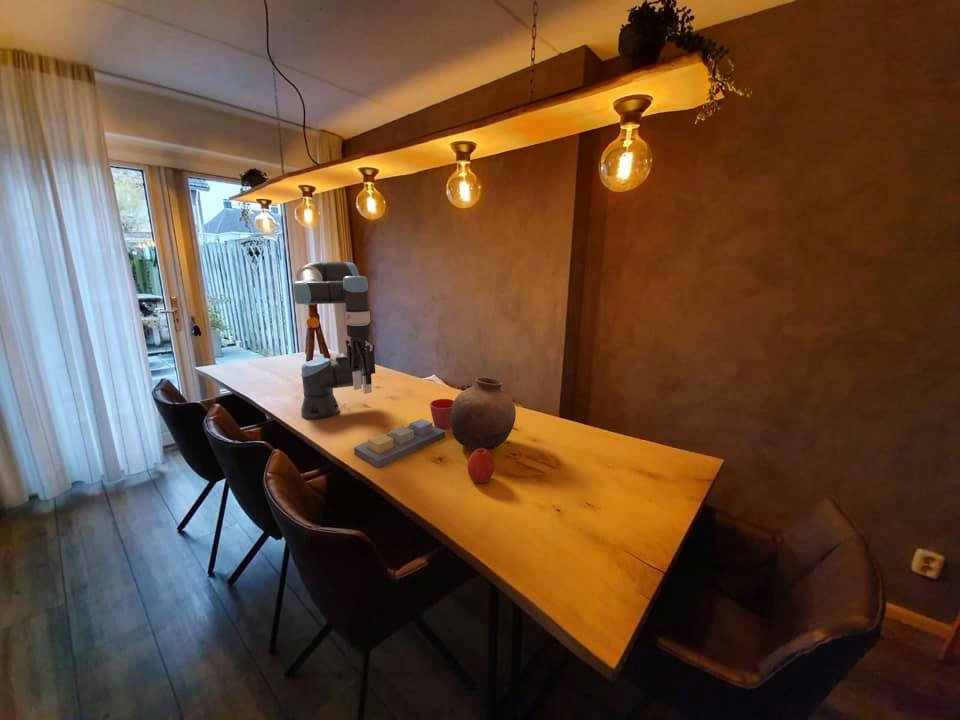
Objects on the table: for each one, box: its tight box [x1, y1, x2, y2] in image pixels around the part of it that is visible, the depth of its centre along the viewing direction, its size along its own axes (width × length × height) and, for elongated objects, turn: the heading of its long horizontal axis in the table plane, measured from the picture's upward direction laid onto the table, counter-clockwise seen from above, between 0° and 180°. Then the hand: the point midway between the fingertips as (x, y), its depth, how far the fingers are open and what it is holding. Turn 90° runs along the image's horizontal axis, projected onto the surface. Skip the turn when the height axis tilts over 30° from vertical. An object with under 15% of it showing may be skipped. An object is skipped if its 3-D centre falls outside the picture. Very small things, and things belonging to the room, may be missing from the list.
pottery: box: [450, 377, 517, 451], centre depth 134 cm, size 23×23×25 cm
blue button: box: [409, 418, 433, 436], centre depth 143 cm, size 6×6×4 cm
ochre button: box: [367, 433, 394, 454], centre depth 129 cm, size 6×6×4 cm
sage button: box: [389, 425, 414, 445], centre depth 136 cm, size 6×6×4 cm
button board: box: [353, 425, 447, 469], centre depth 136 cm, size 14×30×2 cm, turn 140°
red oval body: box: [467, 448, 496, 484], centre depth 114 cm, size 8×8×11 cm
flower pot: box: [429, 398, 455, 430], centre depth 153 cm, size 11×11×10 cm
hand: (362, 390), depth 131 cm, fingers open, 5 cm apart
